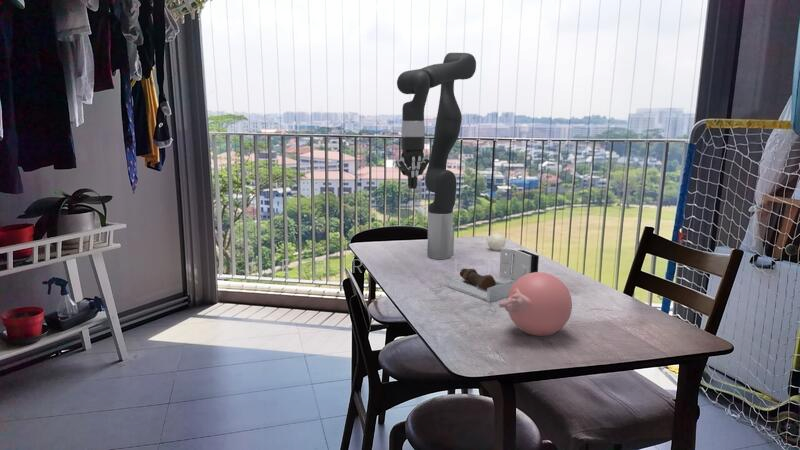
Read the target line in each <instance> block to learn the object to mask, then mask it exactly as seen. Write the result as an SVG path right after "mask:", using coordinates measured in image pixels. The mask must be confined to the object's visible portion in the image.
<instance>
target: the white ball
mask: <svg viewBox="0 0 800 450" xmlns="http://www.w3.org/2000/svg"><path fill="white" fill-rule="evenodd" d="M486 244H487V245H488V247H489V248H490V249H491V250H493V251H501V248H505V245H506V238H505V236H504V235H503V234H502V233H496V232H495V233H493V234H491V235H490V236H489V237H488V238H487V243H486Z"/></svg>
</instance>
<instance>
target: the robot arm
mask: <svg viewBox="0 0 800 450" xmlns="http://www.w3.org/2000/svg"><path fill="white" fill-rule="evenodd" d="M476 70H477V61H476V57H475V56H474V55H473V54H471V53H469V52H448V53H446V55H445V56H444V59H443V62H442V63H441V62H440V63H435V64H430V65H427V66H424V67H422V68H417V69H412V70H406V71H404V72H401V74H399V75H398V77H397V79H396V87H397V89H398V90H399V92H401V93H402V94H404V95H414V96H413V98H412V100H410V101H407V102H404V103H403V104H402V109H401V110H402V111H401V112H402V114H401V115H402V119H401V120H402V122H401V133H400V134H401V135H400V136H401V139H400V140H401V142H400V144H401V145H400V146H401V147H400V148H401V151H402V153H401V155H400V158H399V159H398V160H396V161H395V165H396V166H397V167H398V169H399V170H400V172H401V173H402V175H403V176H406V177H407V187H408V188H409V189H411V190H412V189H414V190H415V189H416V188H417V187H418V178H419V176H421V175H423V173H424V172H425V170H426V168H427V170H426V172H425V178H424V184H425V188H426V189H427V190H428V191H429V192H430V193H434V196H433V197H434V199H433V201H432V202H430V203H429V204H428V206H427V207H428V210H427V255H426V256H427V257H428V258H430V259H434V260H448V259H451V258H452V257H454V255H455V254H454V253H455V251H454V250H455V243H454V242H455V232H454V231H453V222H454V221H453V220H454V219H453V218H454V217H453V216H454V215H453V213H454V207H455V205H456V198H457V197H456V196H457V184H458V183H457V178H456V174H455V173H454V172H453V171H451V170H449V169H447V164H448V157H449V155H450V152H451V151H452V149H453V147H454V146H455V144H456V143H457V141H458V139H459V136H460V132H461V127H462V120H463V119H462V118H463V117H462V111H461V109H460V107H459V104H458V102H457V99H456V96H455V91H454V90H455V87H454V86H455V81H457V80H464V81H465V80H470V79H471V78H472V77H473V76H474V75H475V73H476ZM438 86H440V93H439V94H440V95H439V96H440V97H439V102H438V108H437V114H436V121H435V126H434V135H433V140H432V141H433V142H432V147H431V153H430V158H429V159H428V158H426V157H425V153H424V150H425V145H426V144H425V143H426V141H425V139H426V138H425V137H426V135H425V134H426V133H425V132H426V131H425V127H426V126H425V107H426V103H427V99H428V97H429V96H428V95H429V92H430V89H432V88H435V87H438Z"/></svg>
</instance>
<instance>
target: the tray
mask: <svg viewBox="0 0 800 450" xmlns="http://www.w3.org/2000/svg"><path fill="white" fill-rule="evenodd" d="M480 275H481V274H480ZM481 276H483V275H481ZM494 280H495V282H496V285H495V286H492V287H489V288H487V291H486V290H484V289H481V288H479V287H478V285H476V284H474V283H471V284H468V283H466V282H465V280H464V278H462V277H461V278H459V279H455V278H452V277H449V276H445V277H444V282H443V283H444V286H445V287H447V288H450V289H452V290H456V291H458V292H461V293H464V294H466V295H469V296H472V297H475V298H478V299H481V300H483V301H486V302H488V303H491V302H495V301H497V300H502V299H506V298H507V297H508V293H509V291H510V288H511V287H512V285H513V284H514V283H515V282H516V281H515V280H510V281H507V282H503V281H500V280H497V279H494Z"/></svg>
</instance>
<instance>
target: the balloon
mask: <svg viewBox="0 0 800 450" xmlns="http://www.w3.org/2000/svg"><path fill="white" fill-rule="evenodd" d="M514 282H515V283H514V284H513V285H512V287H511V288H510V291H509V293H508V297H506V298H507V299H505V300H503V301H501V302H499V303H498V306H499V307H500V308H504V310H505V311H506V312H508V315H509V317H510V319H511V321H512V322H513V324H514V325H515V326H516V327H517V328H518V329H519V330H521V331H523V332H524V333H526V334H529V335H531V336H535V337H537V336H538V337H540V336H541V337H542V336H543V337H544V336H549V335H553V334H555V333H558V331H560V330H561V329H563V328H564V326H565V325H566V324H567V323H568V321H569V320H570V317H571V315H572V311H573V301H572V295H571V293H570V291H569V289H568V287H567V286H566V284H565V283H564V282H563V281H562V280H560V278H558V277H557V276H555V275H552V274H550V273H547V272H541V271H538V272H534V273H529V274H526V275H524V276H522V277H520V278H519V279H518V280H517V281H514Z"/></svg>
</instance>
